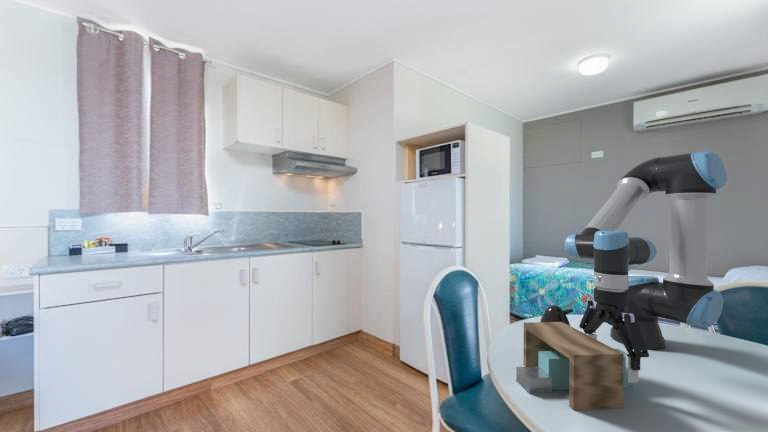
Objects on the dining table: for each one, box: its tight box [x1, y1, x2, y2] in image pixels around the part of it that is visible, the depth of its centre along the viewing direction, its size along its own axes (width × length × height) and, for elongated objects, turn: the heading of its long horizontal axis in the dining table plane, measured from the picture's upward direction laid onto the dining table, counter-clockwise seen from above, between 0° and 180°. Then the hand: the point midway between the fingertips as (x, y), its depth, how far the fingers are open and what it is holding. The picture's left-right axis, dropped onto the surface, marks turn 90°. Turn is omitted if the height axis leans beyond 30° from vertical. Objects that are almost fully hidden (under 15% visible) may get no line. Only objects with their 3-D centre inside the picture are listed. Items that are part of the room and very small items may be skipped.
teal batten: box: [538, 348, 633, 390], centre depth 83 cm, size 23×4×8 cm, turn 95°
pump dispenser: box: [539, 304, 574, 326], centre depth 102 cm, size 10×10×15 cm
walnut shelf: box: [523, 321, 624, 411], centre depth 83 cm, size 12×22×12 cm, turn 4°
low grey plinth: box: [515, 366, 553, 395], centre depth 81 cm, size 6×6×4 cm
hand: (609, 368), depth 84 cm, fingers open, 13 cm apart
